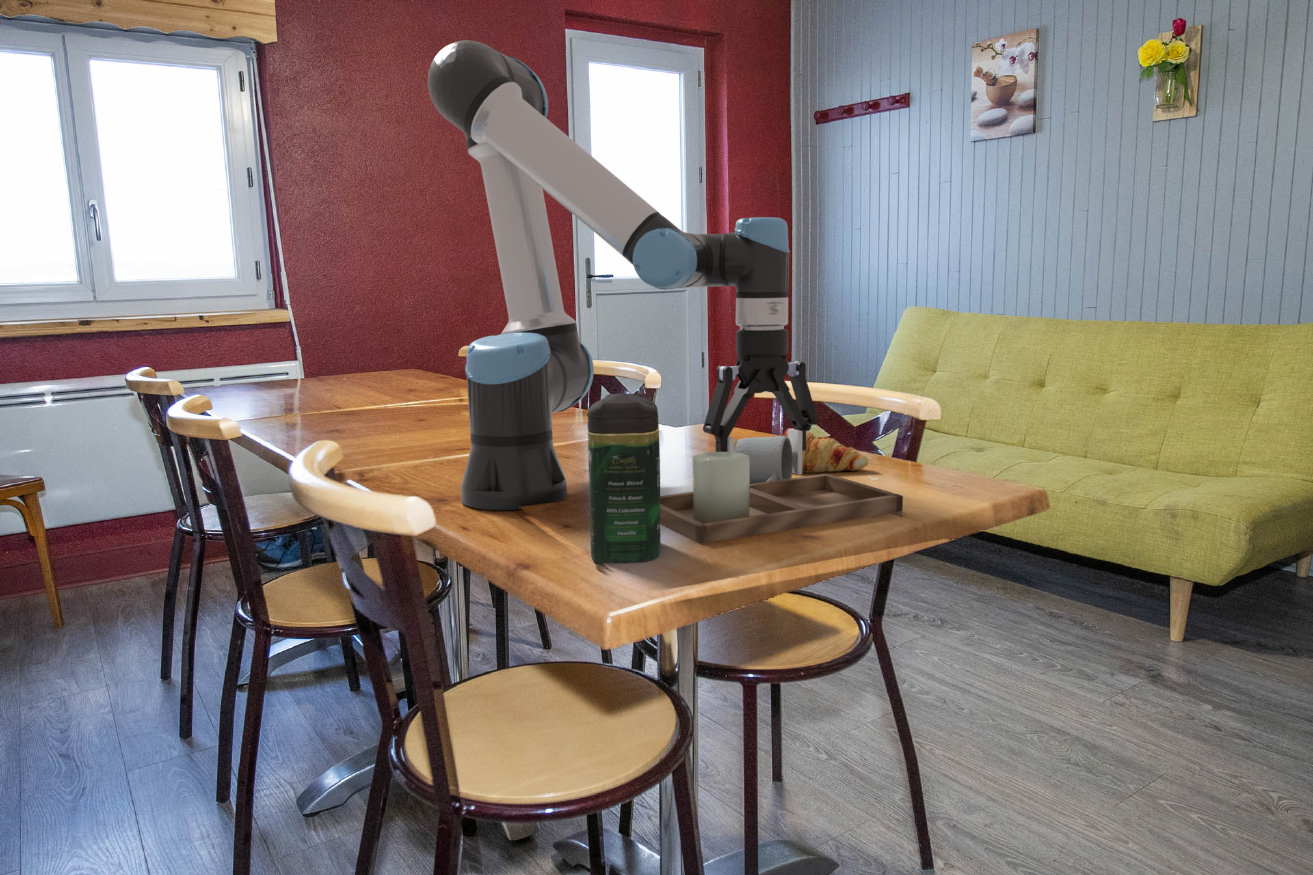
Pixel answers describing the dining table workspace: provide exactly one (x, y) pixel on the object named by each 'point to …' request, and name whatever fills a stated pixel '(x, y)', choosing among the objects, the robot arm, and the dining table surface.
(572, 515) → the dining table surface
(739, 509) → the pale green pillar candle
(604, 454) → the coffee jar
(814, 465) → the croissant
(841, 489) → the caddy
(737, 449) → the ceramic mug
